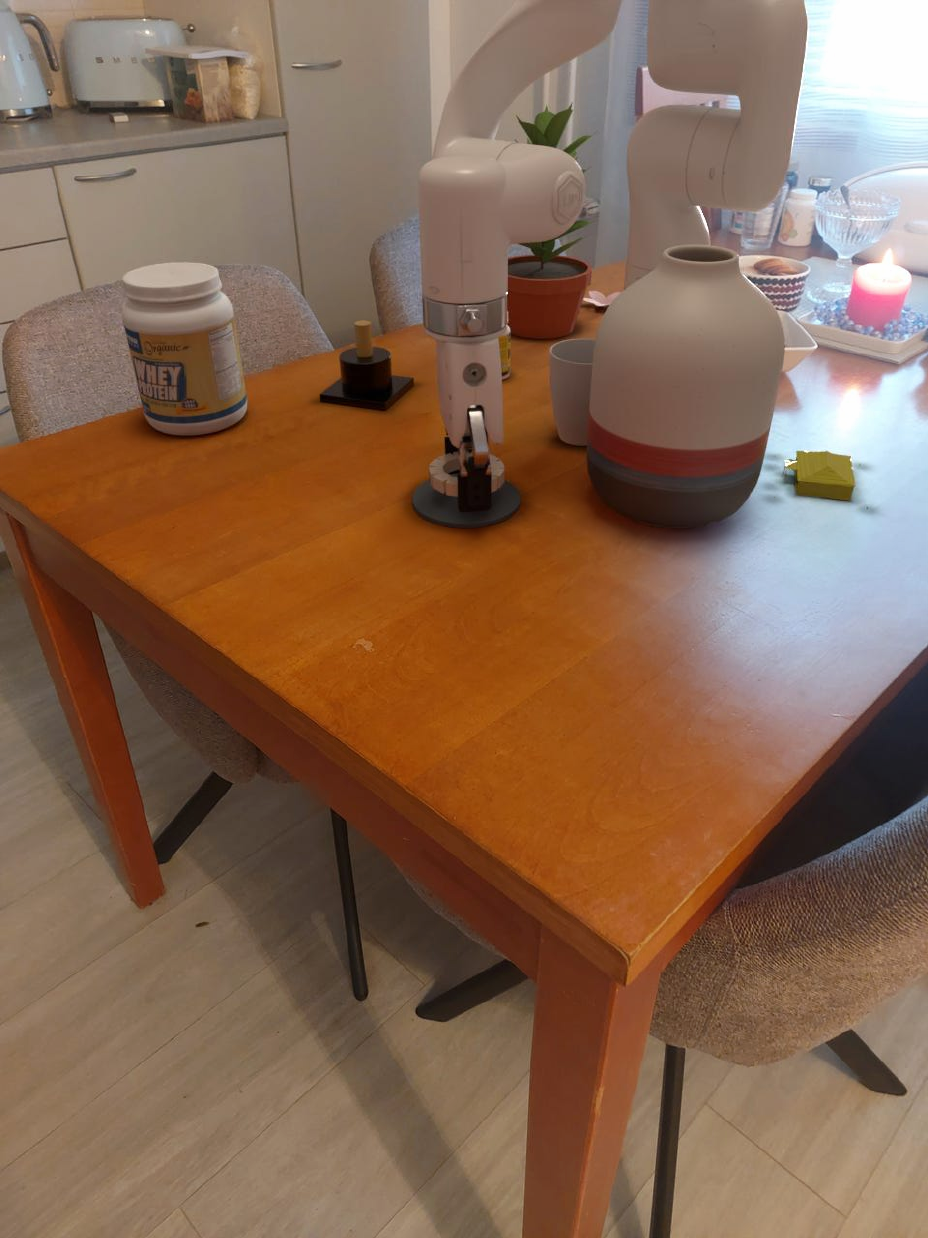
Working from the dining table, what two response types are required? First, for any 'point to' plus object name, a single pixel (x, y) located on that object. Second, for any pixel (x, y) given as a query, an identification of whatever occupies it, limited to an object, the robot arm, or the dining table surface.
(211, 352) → the supplement tub
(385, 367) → the ring holder
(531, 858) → the dining table surface
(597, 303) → the flower
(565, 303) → the potted plant
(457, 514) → the coaster
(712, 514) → the vase
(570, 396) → the cup
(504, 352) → the supplement bottle
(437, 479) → the ring
